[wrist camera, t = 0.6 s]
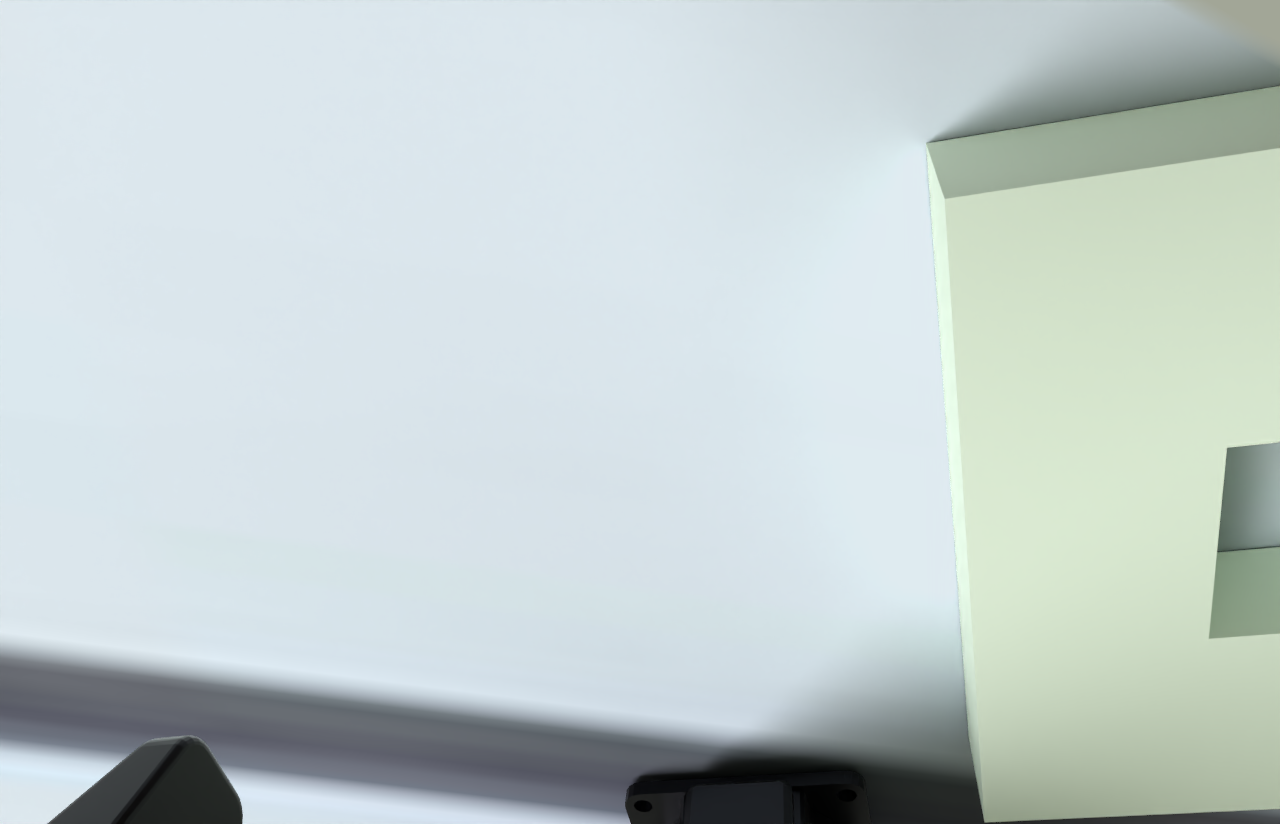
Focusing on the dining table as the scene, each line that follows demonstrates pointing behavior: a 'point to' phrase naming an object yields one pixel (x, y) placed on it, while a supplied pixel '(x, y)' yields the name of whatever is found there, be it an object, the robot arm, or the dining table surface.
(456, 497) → the dining table surface
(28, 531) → the dining table surface
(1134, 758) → the board
